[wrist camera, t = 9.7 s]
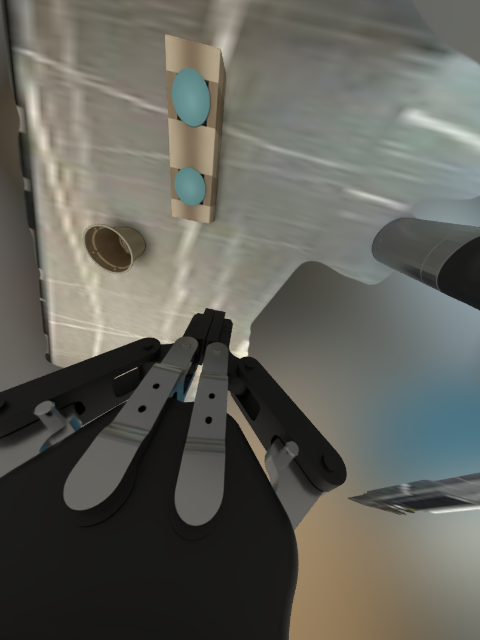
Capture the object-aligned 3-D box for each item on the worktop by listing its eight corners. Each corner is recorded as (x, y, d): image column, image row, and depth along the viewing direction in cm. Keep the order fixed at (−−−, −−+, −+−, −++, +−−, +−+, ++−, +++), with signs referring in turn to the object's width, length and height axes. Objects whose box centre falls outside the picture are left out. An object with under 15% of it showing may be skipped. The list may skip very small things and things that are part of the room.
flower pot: (134, 268, 46) (112, 281, 39) (102, 233, 42) (72, 241, 34) (160, 250, 43) (142, 260, 36) (130, 210, 39) (102, 213, 31)
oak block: (226, 75, 28) (220, 48, 23) (214, 220, 39) (209, 223, 34) (180, 64, 27) (165, 34, 22) (182, 213, 38) (172, 216, 33)
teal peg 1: (218, 96, 29) (210, 73, 23) (215, 141, 32) (208, 129, 26) (186, 89, 28) (170, 63, 23) (186, 134, 31) (172, 121, 26)
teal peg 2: (213, 175, 34) (206, 171, 29) (211, 206, 37) (204, 208, 32) (186, 169, 34) (173, 164, 29) (186, 201, 37) (175, 202, 32)
